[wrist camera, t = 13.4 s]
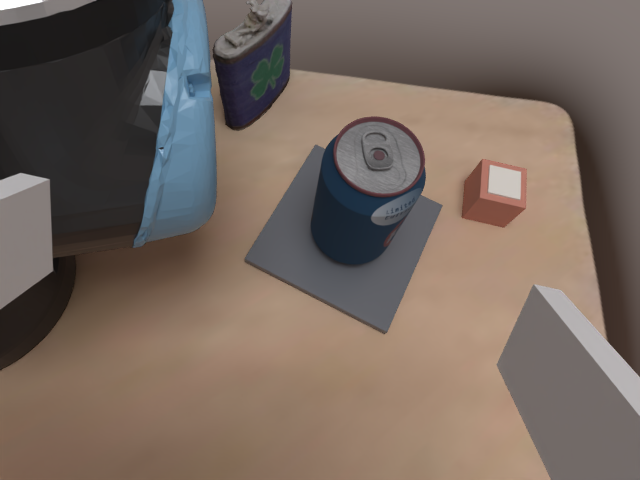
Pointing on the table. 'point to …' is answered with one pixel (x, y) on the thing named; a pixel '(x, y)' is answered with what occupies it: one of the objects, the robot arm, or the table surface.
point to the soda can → (366, 188)
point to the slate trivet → (330, 275)
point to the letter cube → (494, 193)
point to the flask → (254, 62)
